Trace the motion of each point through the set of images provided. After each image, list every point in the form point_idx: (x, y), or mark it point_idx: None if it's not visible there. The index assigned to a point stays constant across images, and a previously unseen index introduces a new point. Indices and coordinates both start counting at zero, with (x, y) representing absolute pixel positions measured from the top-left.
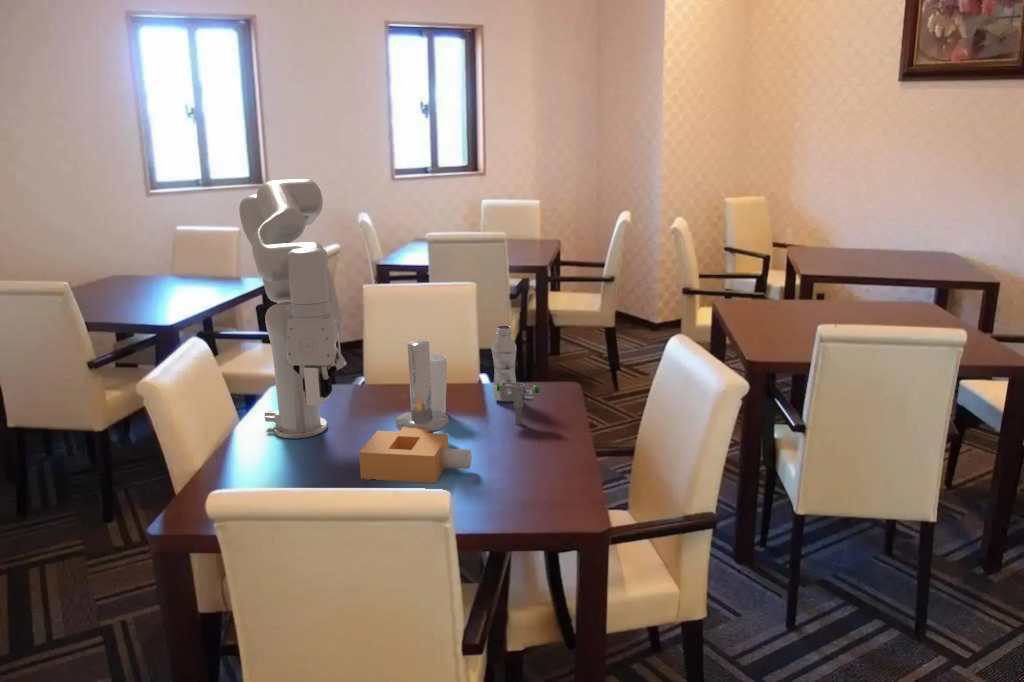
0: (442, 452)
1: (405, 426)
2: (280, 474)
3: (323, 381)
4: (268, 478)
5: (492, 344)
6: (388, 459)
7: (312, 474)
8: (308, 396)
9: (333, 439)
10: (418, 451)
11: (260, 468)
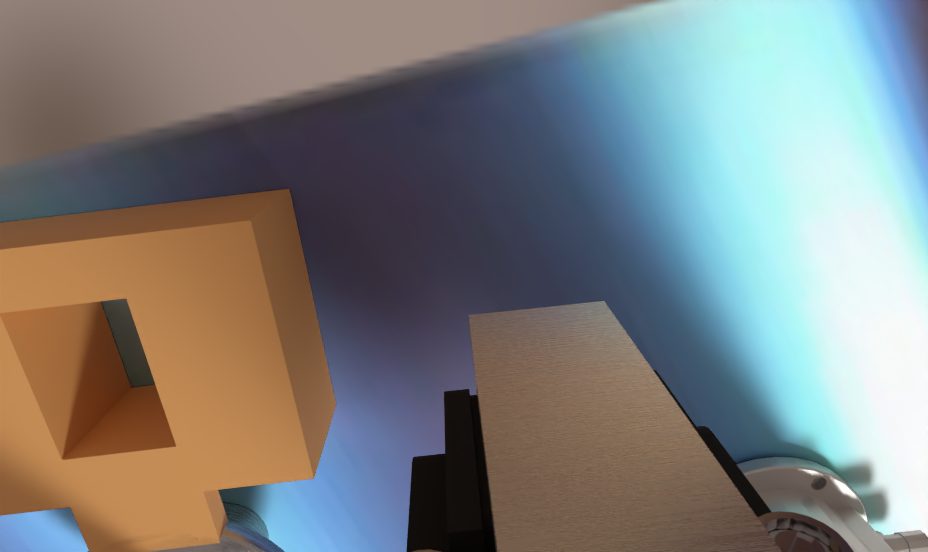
0: None
1: (209, 546)
2: (662, 147)
3: (448, 515)
4: (698, 95)
5: None
6: (104, 231)
7: (521, 181)
8: (602, 339)
9: None
10: None
11: (776, 182)
